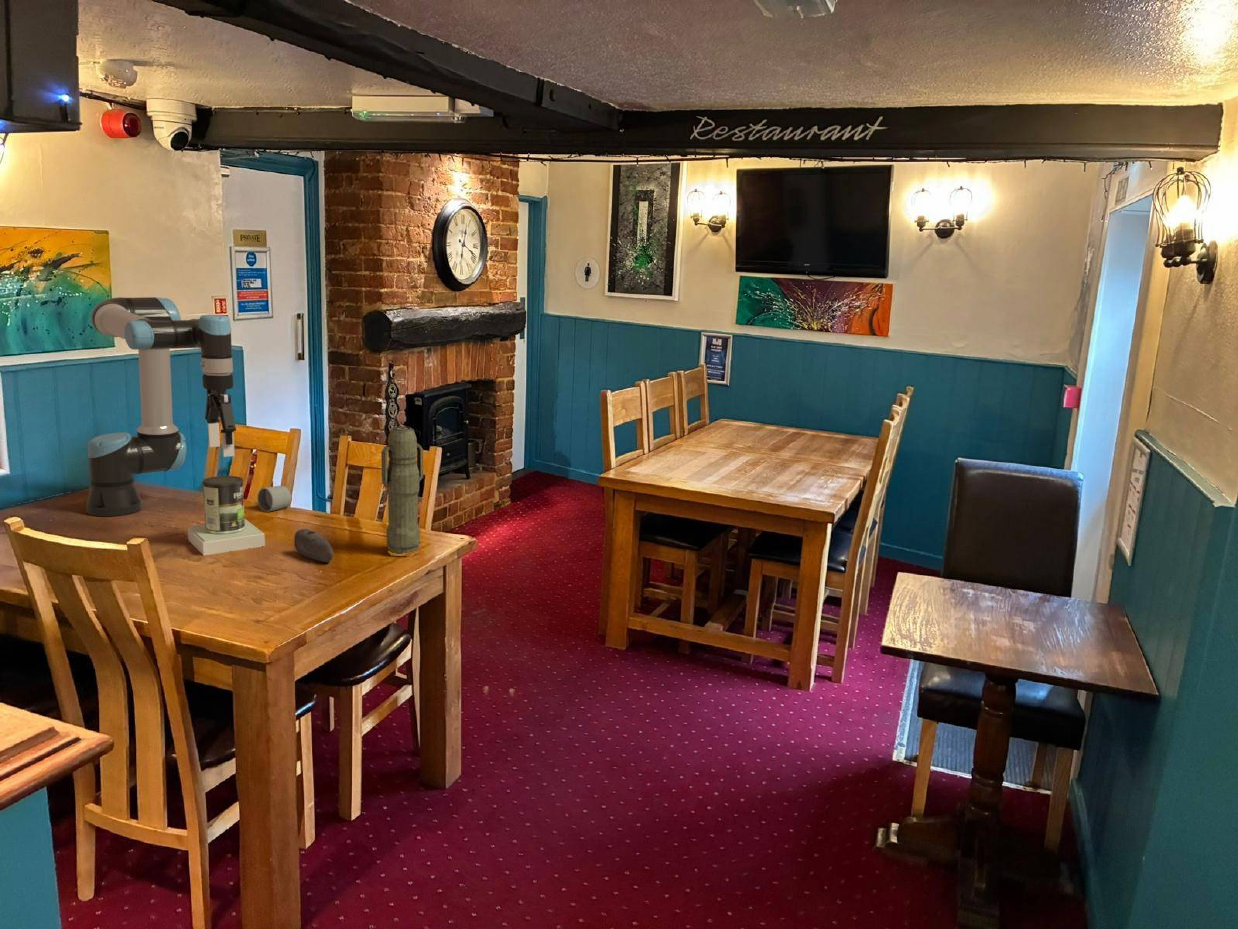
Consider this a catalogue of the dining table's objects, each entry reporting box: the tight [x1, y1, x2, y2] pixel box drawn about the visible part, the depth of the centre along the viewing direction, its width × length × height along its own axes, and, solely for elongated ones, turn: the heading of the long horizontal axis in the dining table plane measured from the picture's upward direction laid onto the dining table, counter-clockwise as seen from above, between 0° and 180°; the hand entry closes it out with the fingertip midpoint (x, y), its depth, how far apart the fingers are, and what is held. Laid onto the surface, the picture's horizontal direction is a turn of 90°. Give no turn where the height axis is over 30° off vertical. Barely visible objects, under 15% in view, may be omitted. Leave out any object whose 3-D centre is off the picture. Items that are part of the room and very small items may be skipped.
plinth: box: [187, 518, 266, 556], centre depth 252 cm, size 16×16×4 cm
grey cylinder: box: [256, 485, 293, 513], centre depth 288 cm, size 11×8×8 cm
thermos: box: [381, 426, 424, 554], centre depth 248 cm, size 9×12×35 cm
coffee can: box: [201, 475, 245, 534], centre depth 251 cm, size 10×10×14 cm
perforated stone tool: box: [293, 528, 334, 563], centre depth 243 cm, size 15×5×7 cm, turn 48°
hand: (221, 451), depth 247 cm, fingers open, 13 cm apart
